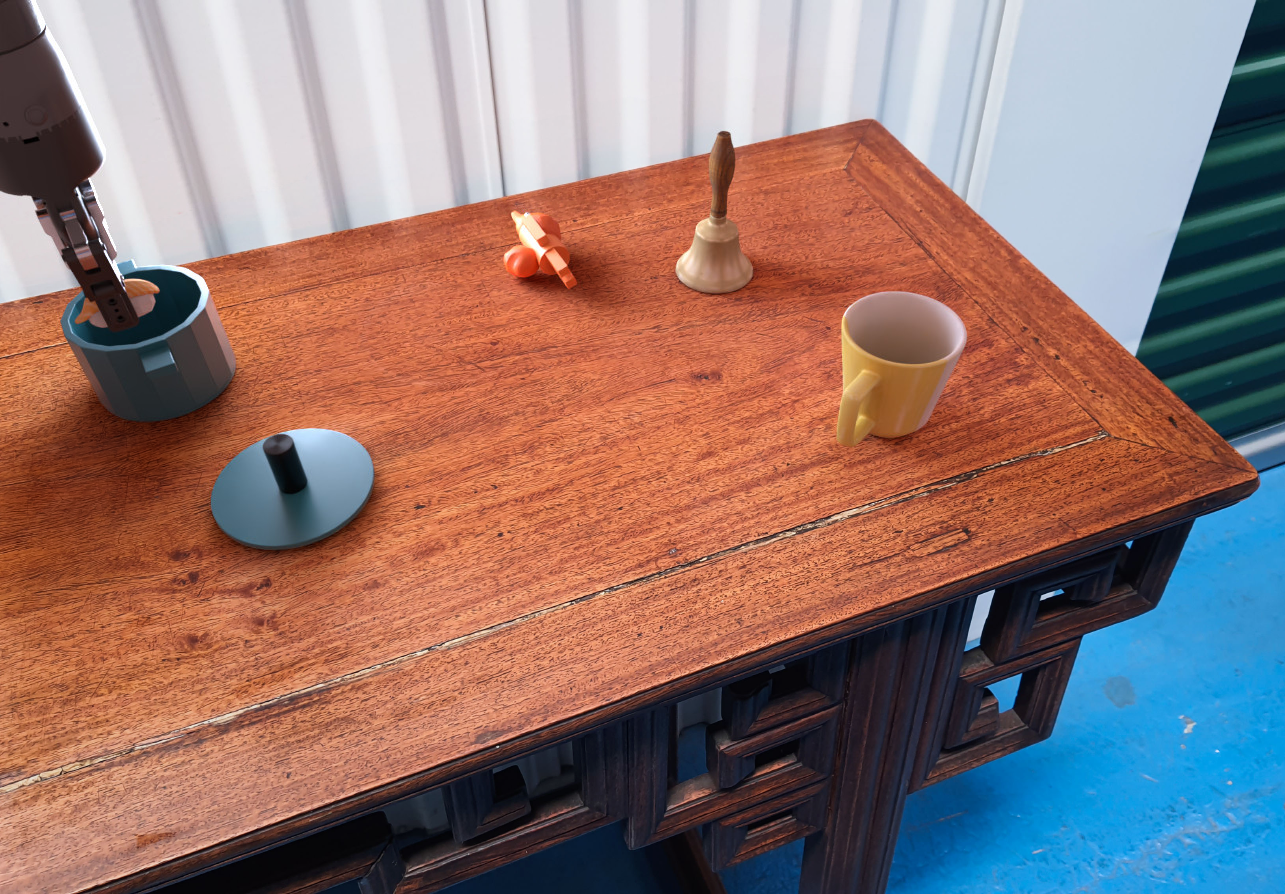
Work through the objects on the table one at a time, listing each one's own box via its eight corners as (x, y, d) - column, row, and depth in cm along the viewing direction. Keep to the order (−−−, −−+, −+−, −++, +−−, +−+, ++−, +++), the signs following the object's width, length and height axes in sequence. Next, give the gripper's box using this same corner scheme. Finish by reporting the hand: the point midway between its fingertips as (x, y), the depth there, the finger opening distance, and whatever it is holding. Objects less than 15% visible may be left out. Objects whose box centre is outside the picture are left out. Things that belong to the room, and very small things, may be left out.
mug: (877, 364, 95) (896, 274, 88) (964, 420, 90) (992, 329, 82) (777, 430, 89) (788, 339, 82) (864, 494, 84) (885, 403, 76)
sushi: (170, 310, 78) (156, 278, 76) (85, 341, 75) (68, 310, 73) (159, 293, 79) (145, 262, 77) (76, 324, 77) (59, 293, 75)
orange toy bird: (581, 246, 99) (536, 189, 107) (518, 285, 99) (477, 225, 107) (598, 280, 103) (553, 223, 111) (537, 318, 103) (496, 258, 111)
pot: (119, 458, 87) (79, 387, 81) (84, 347, 98) (46, 277, 92) (259, 408, 92) (231, 336, 86) (211, 307, 103) (183, 237, 96)
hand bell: (755, 251, 109) (767, 114, 97) (750, 297, 103) (762, 157, 91) (680, 245, 109) (683, 109, 98) (670, 291, 104) (673, 151, 92)
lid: (238, 580, 78) (214, 532, 74) (197, 473, 86) (174, 424, 82) (399, 512, 83) (386, 464, 78) (346, 417, 91) (331, 368, 87)
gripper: (-54, 76, 68) (57, 283, 80) (-36, 168, 59) (85, 384, 72) (64, 51, 70) (153, 255, 83) (97, 136, 62) (191, 349, 74)
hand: (121, 314), depth 77 cm, fingers closed on sushi, 2 cm apart
